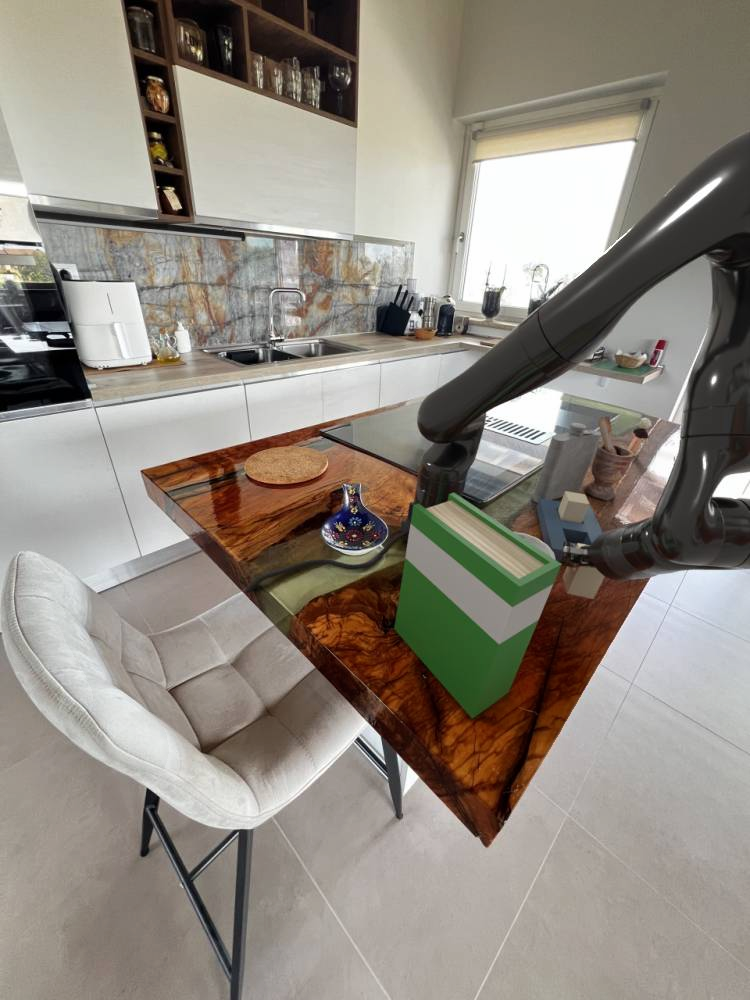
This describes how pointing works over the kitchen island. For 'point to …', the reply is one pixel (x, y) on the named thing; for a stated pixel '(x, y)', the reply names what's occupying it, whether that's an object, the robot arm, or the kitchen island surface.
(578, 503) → the beige wooden block
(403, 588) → the hardback book
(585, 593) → the beige block
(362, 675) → the kitchen island surface
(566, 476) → the hip flask
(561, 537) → the holder
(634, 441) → the grandmother figurine
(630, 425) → the kitchen island surface
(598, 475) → the mortar and pestle
